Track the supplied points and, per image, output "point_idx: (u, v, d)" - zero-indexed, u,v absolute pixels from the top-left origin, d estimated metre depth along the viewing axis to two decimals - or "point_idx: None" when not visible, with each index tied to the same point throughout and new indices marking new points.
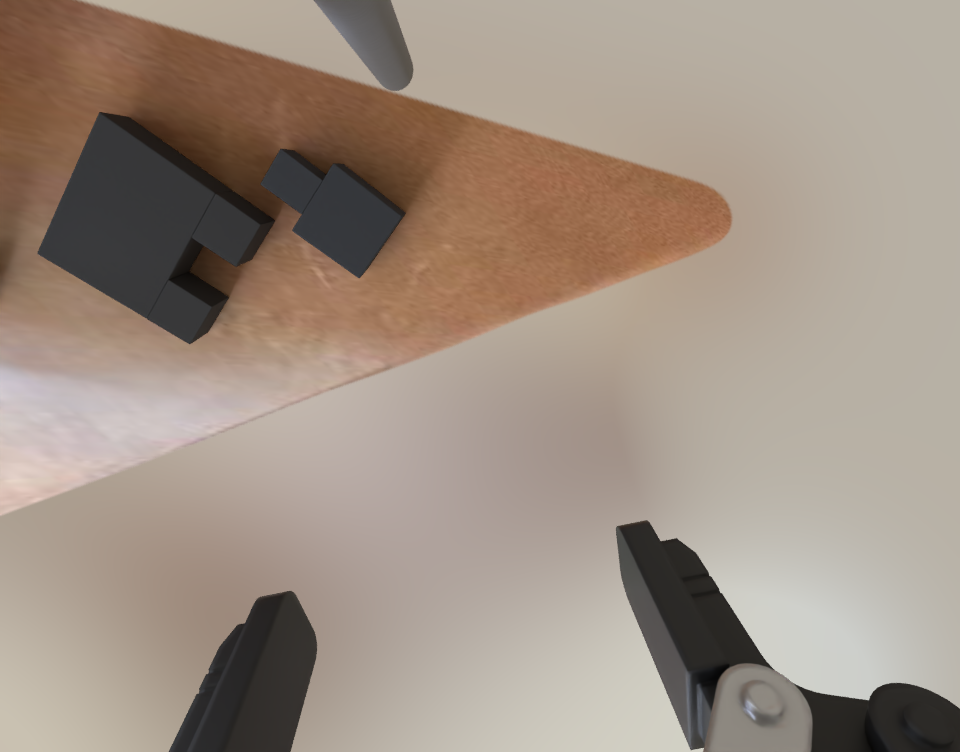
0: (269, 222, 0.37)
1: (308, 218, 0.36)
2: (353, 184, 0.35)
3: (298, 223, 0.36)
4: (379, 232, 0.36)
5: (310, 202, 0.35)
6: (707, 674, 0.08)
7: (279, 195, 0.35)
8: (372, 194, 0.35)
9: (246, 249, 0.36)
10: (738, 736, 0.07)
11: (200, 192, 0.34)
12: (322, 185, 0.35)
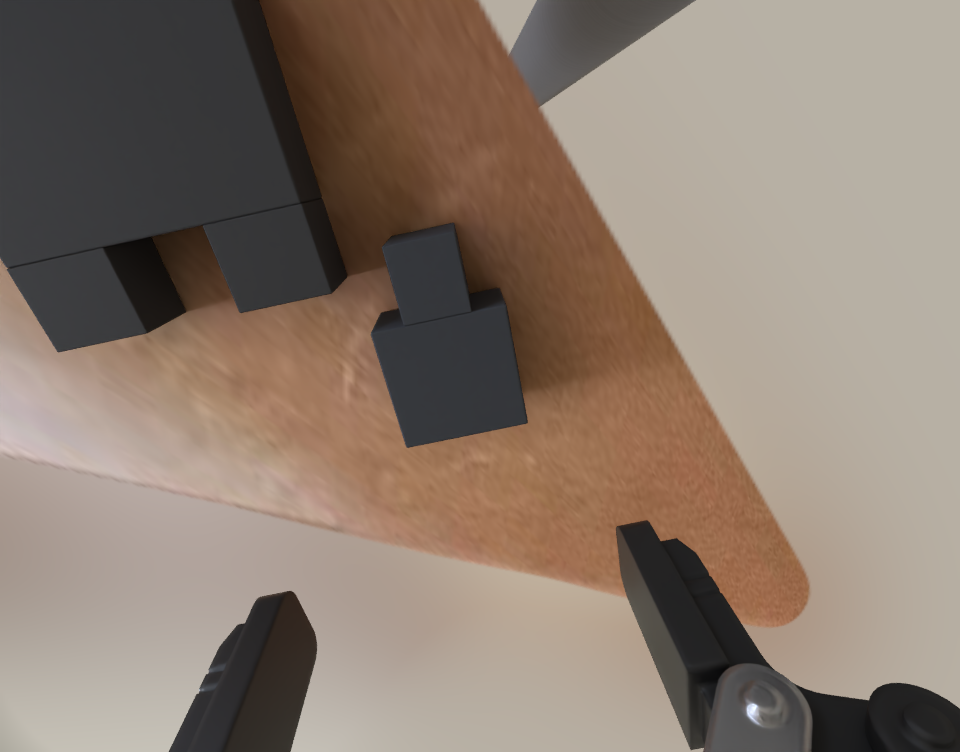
0: (341, 282, 0.21)
1: (408, 338, 0.21)
2: (505, 346, 0.21)
3: (388, 332, 0.20)
4: (484, 419, 0.22)
5: (429, 322, 0.20)
6: (707, 674, 0.08)
7: (395, 281, 0.20)
8: (517, 374, 0.22)
9: None
10: (738, 737, 0.07)
11: (277, 182, 0.18)
12: (465, 317, 0.20)
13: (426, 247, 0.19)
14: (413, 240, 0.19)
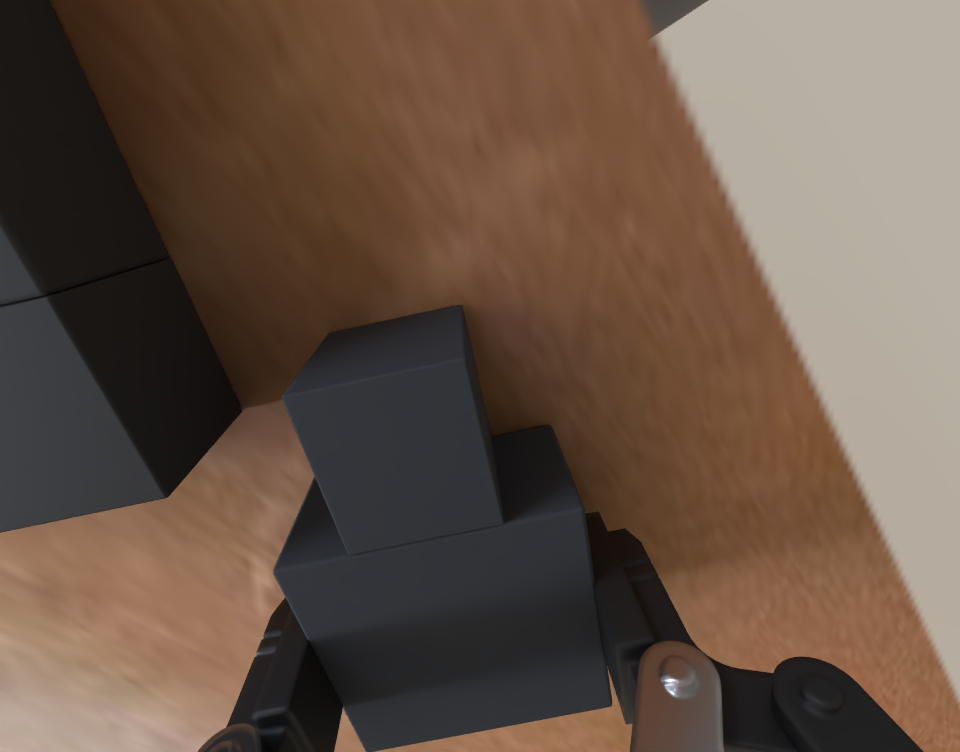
0: (217, 437, 0.10)
1: (359, 577, 0.09)
2: (576, 585, 0.09)
3: (312, 569, 0.09)
4: (524, 705, 0.11)
5: (407, 547, 0.09)
6: (635, 651, 0.08)
7: (321, 471, 0.08)
8: (598, 631, 0.10)
9: (43, 519, 0.08)
10: (652, 705, 0.07)
11: None
12: (490, 534, 0.09)
13: (395, 395, 0.08)
14: (361, 379, 0.07)
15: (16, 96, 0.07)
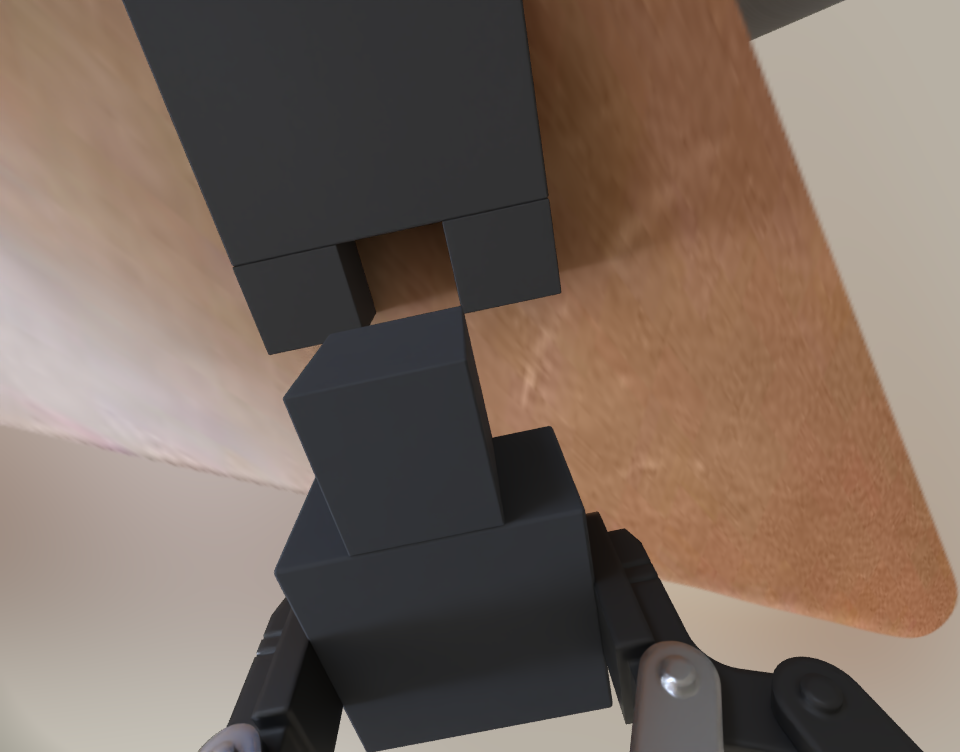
0: None
1: (360, 578, 0.09)
2: (576, 587, 0.09)
3: (313, 570, 0.09)
4: (524, 706, 0.11)
5: (408, 548, 0.09)
6: (635, 651, 0.08)
7: (322, 472, 0.08)
8: (598, 632, 0.10)
9: (503, 304, 0.19)
10: (652, 705, 0.07)
11: (528, 176, 0.17)
12: (491, 536, 0.09)
13: (395, 397, 0.08)
14: (362, 381, 0.07)
15: None
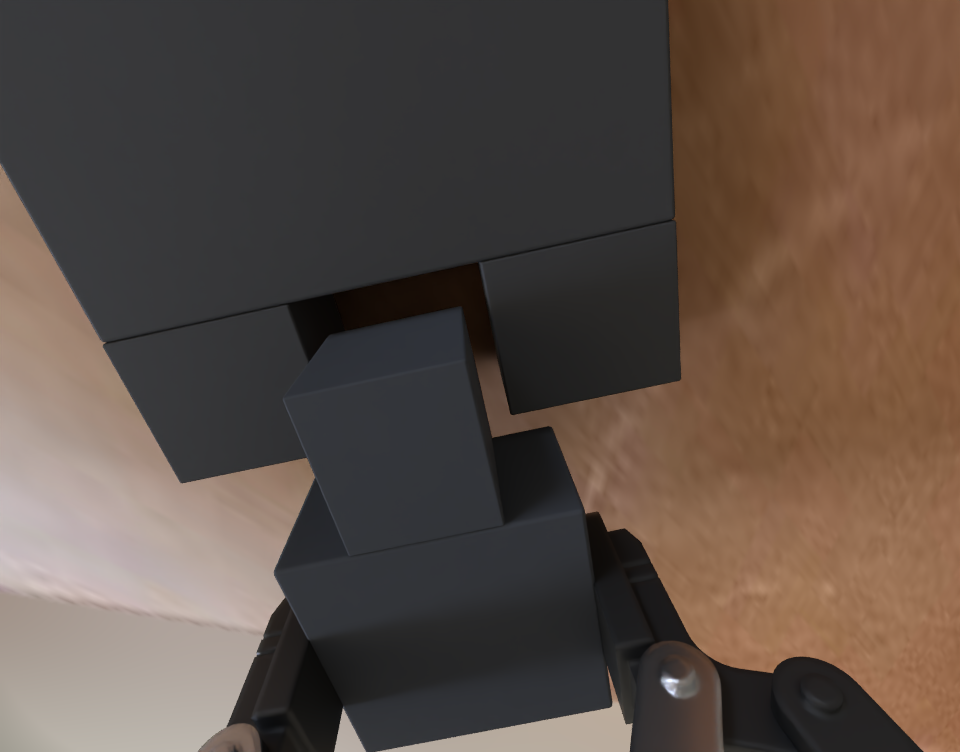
0: None
1: (360, 579, 0.09)
2: (576, 587, 0.09)
3: (313, 570, 0.09)
4: (524, 706, 0.11)
5: (408, 549, 0.09)
6: (635, 651, 0.08)
7: (322, 472, 0.08)
8: (598, 632, 0.10)
9: None
10: (652, 705, 0.07)
11: (642, 180, 0.09)
12: (491, 536, 0.09)
13: (395, 397, 0.08)
14: (362, 381, 0.07)
15: None
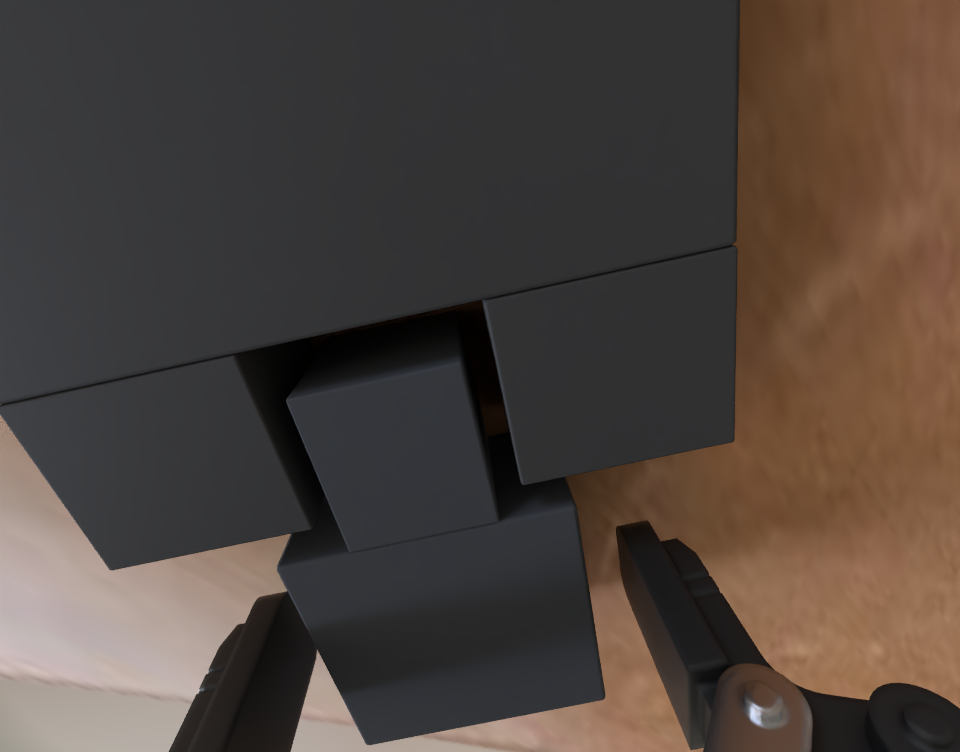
0: None
1: (360, 574, 0.09)
2: (569, 582, 0.10)
3: (315, 565, 0.09)
4: (520, 698, 0.11)
5: (406, 545, 0.09)
6: (707, 674, 0.08)
7: (323, 471, 0.08)
8: (591, 625, 0.10)
9: (606, 463, 0.09)
10: (738, 736, 0.07)
11: (697, 194, 0.07)
12: (486, 532, 0.09)
13: (394, 398, 0.08)
14: (362, 383, 0.08)
15: None
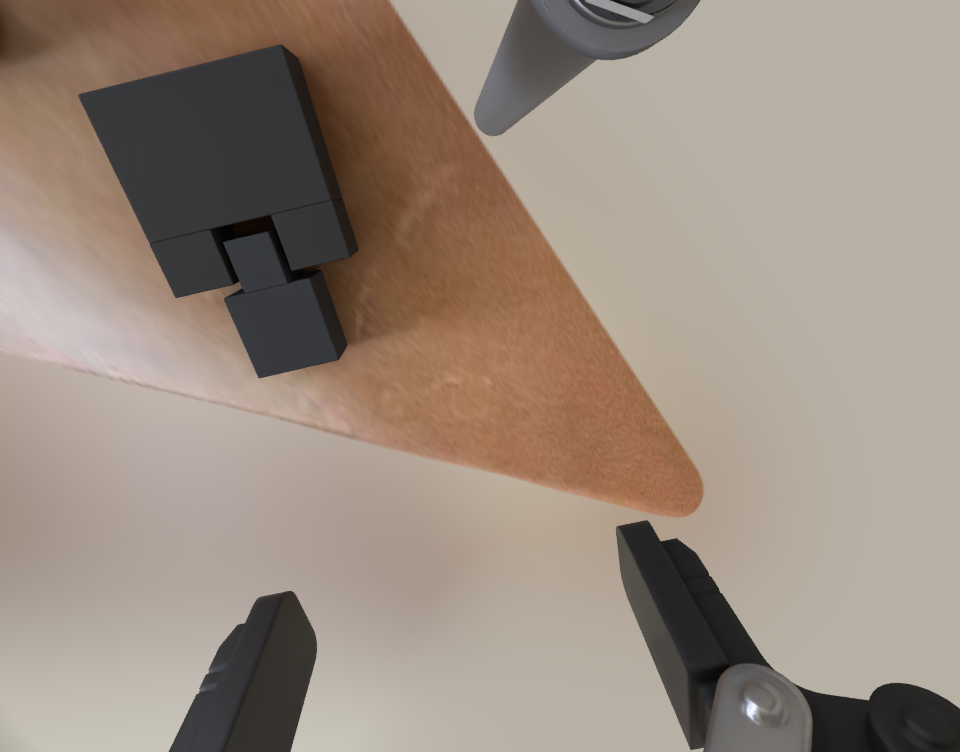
0: (354, 252, 0.33)
1: (248, 301, 0.32)
2: (313, 306, 0.32)
3: (234, 298, 0.32)
4: (308, 357, 0.34)
5: (261, 290, 0.32)
6: (707, 674, 0.08)
7: (234, 264, 0.31)
8: (325, 325, 0.33)
9: (316, 264, 0.31)
10: (738, 736, 0.07)
11: (317, 187, 0.29)
12: (284, 286, 0.32)
13: (251, 242, 0.30)
14: (242, 237, 0.30)
15: (322, 155, 0.30)
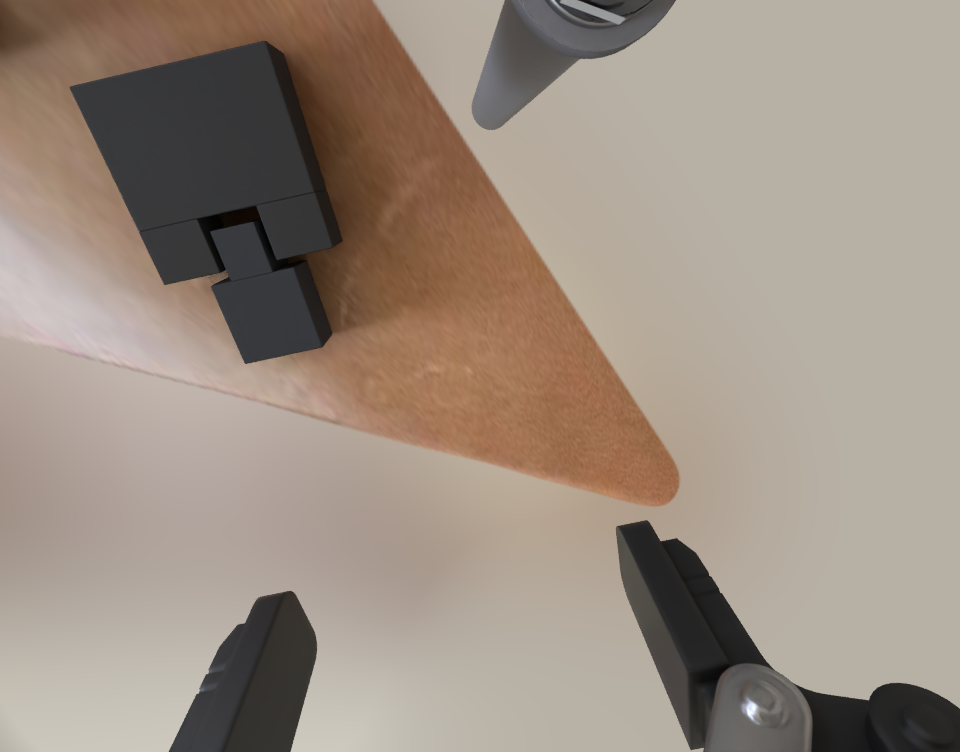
0: (338, 243, 0.34)
1: (235, 289, 0.33)
2: (297, 295, 0.33)
3: (221, 285, 0.33)
4: (293, 344, 0.35)
5: (247, 279, 0.33)
6: (707, 674, 0.08)
7: (221, 253, 0.32)
8: (309, 313, 0.34)
9: (300, 254, 0.32)
10: (738, 736, 0.07)
11: (300, 180, 0.30)
12: (269, 275, 0.33)
13: (237, 231, 0.31)
14: (229, 227, 0.31)
15: (306, 148, 0.31)
